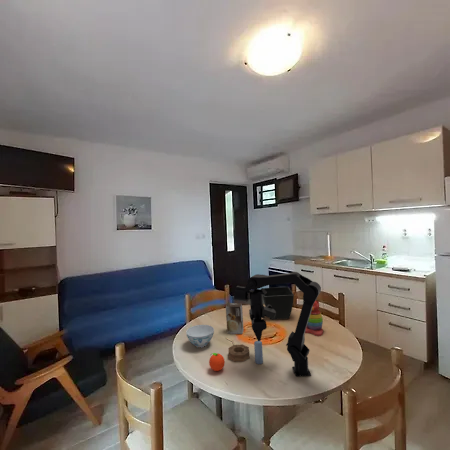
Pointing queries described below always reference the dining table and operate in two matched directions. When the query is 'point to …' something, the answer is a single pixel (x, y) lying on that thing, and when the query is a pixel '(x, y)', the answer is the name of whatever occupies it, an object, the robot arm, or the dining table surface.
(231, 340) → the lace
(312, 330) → the stacking bear
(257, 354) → the tapered blue cylinder
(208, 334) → the chinaware
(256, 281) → the robot arm
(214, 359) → the clementine
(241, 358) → the bead
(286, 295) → the black bin
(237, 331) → the coffee box
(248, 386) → the dining table surface
